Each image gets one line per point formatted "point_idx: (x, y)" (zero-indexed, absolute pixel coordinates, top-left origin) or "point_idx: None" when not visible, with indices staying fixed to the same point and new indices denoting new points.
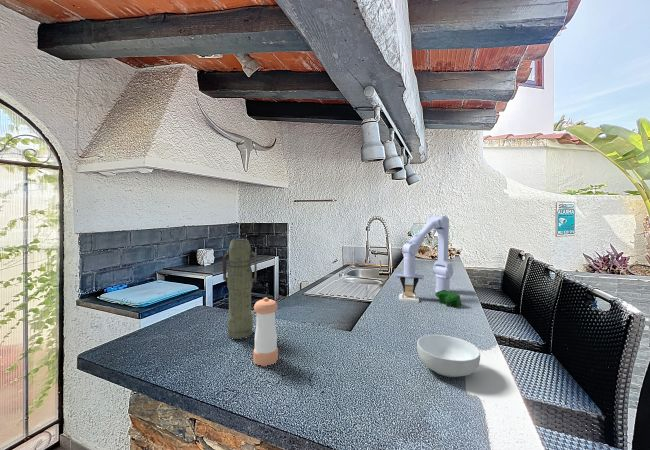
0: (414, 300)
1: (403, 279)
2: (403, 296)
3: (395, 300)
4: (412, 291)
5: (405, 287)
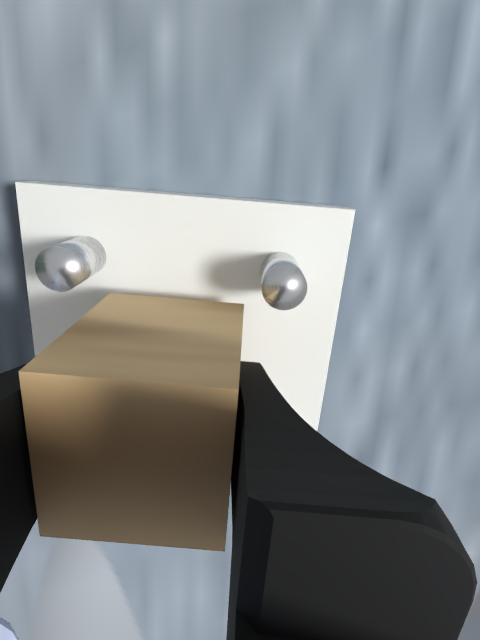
0: (93, 187)
1: (307, 589)
2: (270, 260)
3: (392, 212)
4: (84, 324)
5: (227, 373)
